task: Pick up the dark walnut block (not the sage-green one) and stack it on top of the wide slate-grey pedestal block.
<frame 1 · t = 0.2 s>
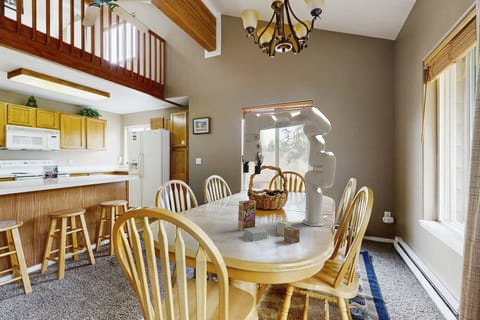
hand: (251, 173, 114), 31 cm above the table, fingers open, 9 cm apart
sage block: (283, 233, 118), on the table
pedestal block: (255, 238, 112), on the table
walnut block: (291, 241, 107), on the table
candy box: (246, 229, 124), on the table
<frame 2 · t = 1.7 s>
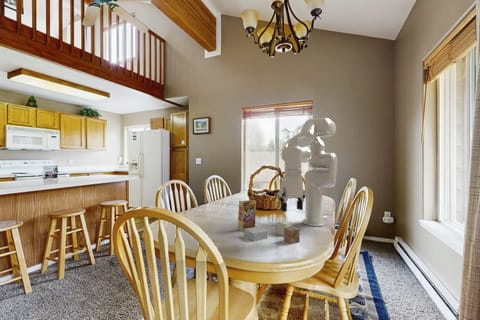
hand: (291, 210, 107), 14 cm above the table, fingers open, 9 cm apart
nothing on the table moved.
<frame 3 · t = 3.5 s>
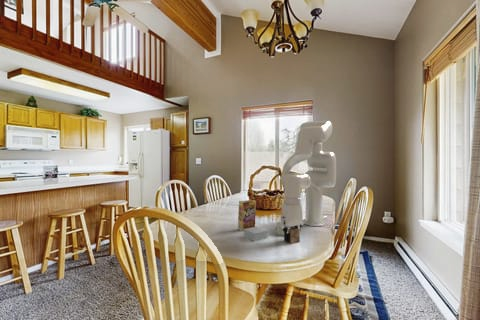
hand: (291, 239, 107), 1 cm above the table, fingers closed on walnut block, 5 cm apart
walnut block: (291, 241, 107), on the table, touching gripper
everything else where it was.
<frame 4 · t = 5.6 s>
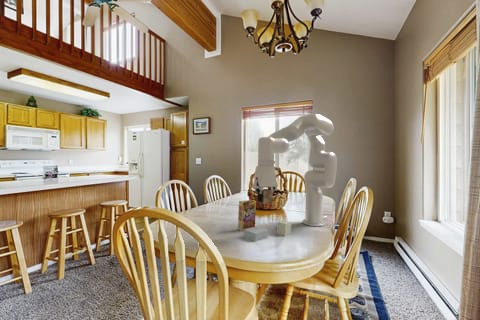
hand: (264, 201, 110), 18 cm above the table, fingers closed on walnut block, 5 cm apart
walnut block: (265, 202, 110), point 17 cm above the table, touching gripper
everything else where it was.
when the fingers open (6 cm above the table, at t = 7.8 s): walnut block drops 1 cm, point 4 cm above the table.
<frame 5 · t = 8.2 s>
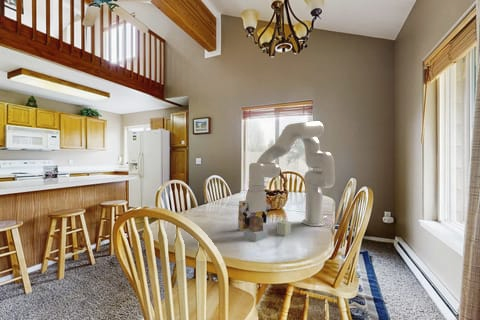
hand: (255, 224, 112), 6 cm above the table, fingers open, 9 cm apart
walnut block: (255, 229, 112), point 4 cm above the table
everything else where it was.
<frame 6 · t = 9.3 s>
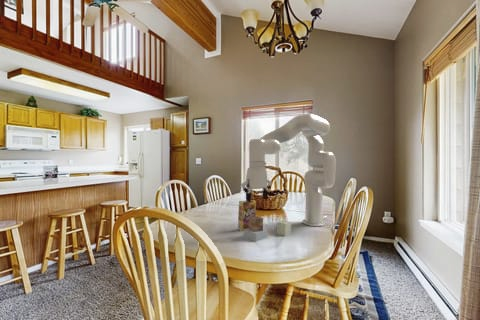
hand: (257, 200, 112), 18 cm above the table, fingers open, 9 cm apart
pedestal block: (255, 238, 112), on the table, touching walnut block
walnut block: (255, 229, 112), point 4 cm above the table, touching pedestal block
everything else where it was.
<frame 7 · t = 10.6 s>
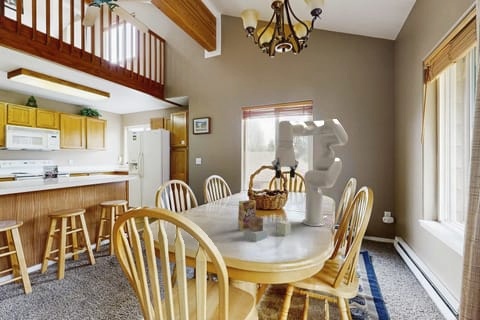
hand: (285, 177, 120), 28 cm above the table, fingers open, 9 cm apart
nothing on the table moved.
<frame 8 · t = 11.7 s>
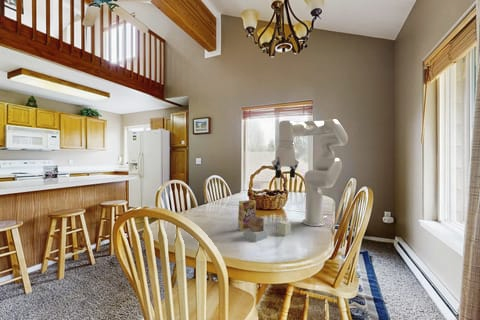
hand: (285, 177, 120), 28 cm above the table, fingers open, 9 cm apart
nothing on the table moved.
at the end: walnut block 0.3 cm off-centre on the pedestal block, point 4.0 cm above the pedestal block's base; walnut block tilted 1°; walnut block touching pedestal block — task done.
